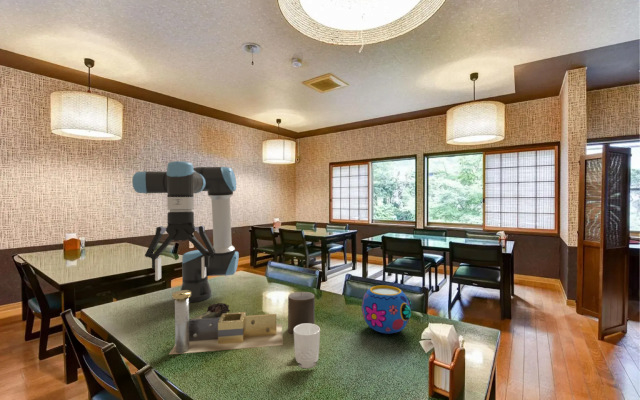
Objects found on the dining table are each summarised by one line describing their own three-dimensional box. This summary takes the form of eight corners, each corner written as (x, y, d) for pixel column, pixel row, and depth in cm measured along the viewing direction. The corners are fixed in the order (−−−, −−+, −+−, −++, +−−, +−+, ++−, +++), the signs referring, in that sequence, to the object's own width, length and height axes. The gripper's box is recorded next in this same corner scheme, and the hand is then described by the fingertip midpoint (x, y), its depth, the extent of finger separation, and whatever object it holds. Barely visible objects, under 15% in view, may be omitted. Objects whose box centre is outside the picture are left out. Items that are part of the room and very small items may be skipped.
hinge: (190, 335, 102) (189, 315, 102) (276, 329, 106) (276, 309, 106) (182, 347, 94) (182, 325, 94) (276, 339, 98) (276, 318, 98)
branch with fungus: (196, 332, 107) (196, 317, 107) (184, 328, 111) (184, 314, 111) (231, 314, 123) (231, 301, 123) (220, 312, 126) (219, 299, 126)
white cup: (293, 355, 90) (293, 323, 90) (319, 354, 91) (318, 322, 91) (293, 370, 83) (293, 335, 83) (321, 369, 83) (321, 334, 83)
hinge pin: (176, 346, 94) (175, 290, 94) (193, 345, 95) (193, 289, 95) (170, 355, 89) (169, 296, 89) (188, 353, 90) (188, 295, 90)
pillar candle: (304, 342, 99) (304, 298, 99) (282, 335, 104) (282, 293, 104) (319, 331, 107) (319, 290, 107) (298, 325, 112) (298, 286, 112)
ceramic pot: (411, 345, 96) (411, 300, 96) (358, 338, 102) (357, 295, 101) (411, 323, 113) (410, 284, 113) (365, 318, 118) (365, 281, 118)
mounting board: (184, 334, 105) (184, 330, 105) (281, 327, 111) (281, 323, 111) (168, 358, 90) (168, 354, 90) (282, 348, 95) (282, 344, 95)
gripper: (132, 212, 86) (132, 283, 86) (219, 210, 90) (220, 279, 90) (143, 211, 94) (144, 277, 94) (223, 210, 97) (224, 273, 97)
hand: (181, 278), depth 92 cm, fingers open, 13 cm apart
